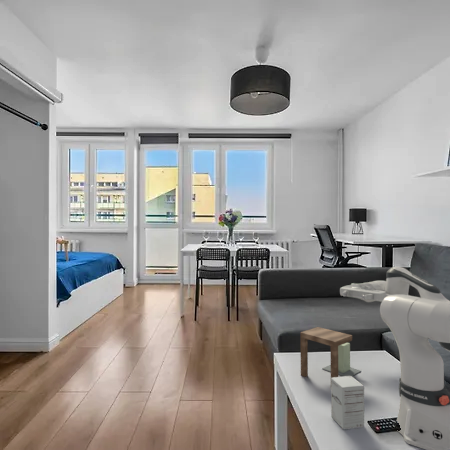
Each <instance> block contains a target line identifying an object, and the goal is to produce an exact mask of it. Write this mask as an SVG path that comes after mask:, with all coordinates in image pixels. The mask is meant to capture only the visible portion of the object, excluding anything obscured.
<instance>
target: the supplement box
mask: <svg viewBox="0 0 450 450" xmlns="http://www.w3.org/2000/svg"><path fill="white" fill-rule="evenodd" d="M330 389H331V391H330V395H331V396H330V399H331V400H330V401H331V407H330V409H331V410H330V412H331V416H330V417H331V418H332V419H333V420H334V421H335V422H336V423H337V424H338V425H339V427H340V428H341V429H342V430H351V429H357V428H365V385H364V384H362V383H361V382H360V381H358V380H357V379H356V378H355V377H353V376H338V377H333V378H331V377H330Z"/></svg>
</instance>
